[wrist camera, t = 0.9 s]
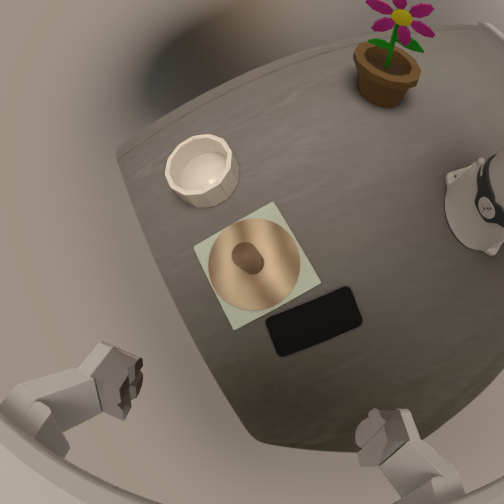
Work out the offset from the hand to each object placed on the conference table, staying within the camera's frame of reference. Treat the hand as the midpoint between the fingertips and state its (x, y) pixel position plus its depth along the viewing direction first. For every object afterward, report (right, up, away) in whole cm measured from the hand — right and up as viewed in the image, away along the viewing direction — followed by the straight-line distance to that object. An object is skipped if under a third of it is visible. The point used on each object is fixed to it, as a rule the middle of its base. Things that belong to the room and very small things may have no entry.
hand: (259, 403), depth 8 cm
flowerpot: (+29, +41, +41) cm, 65 cm away
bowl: (-9, +19, +43) cm, 48 cm away
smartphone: (+10, -6, +35) cm, 37 cm away
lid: (0, +3, +38) cm, 38 cm away
